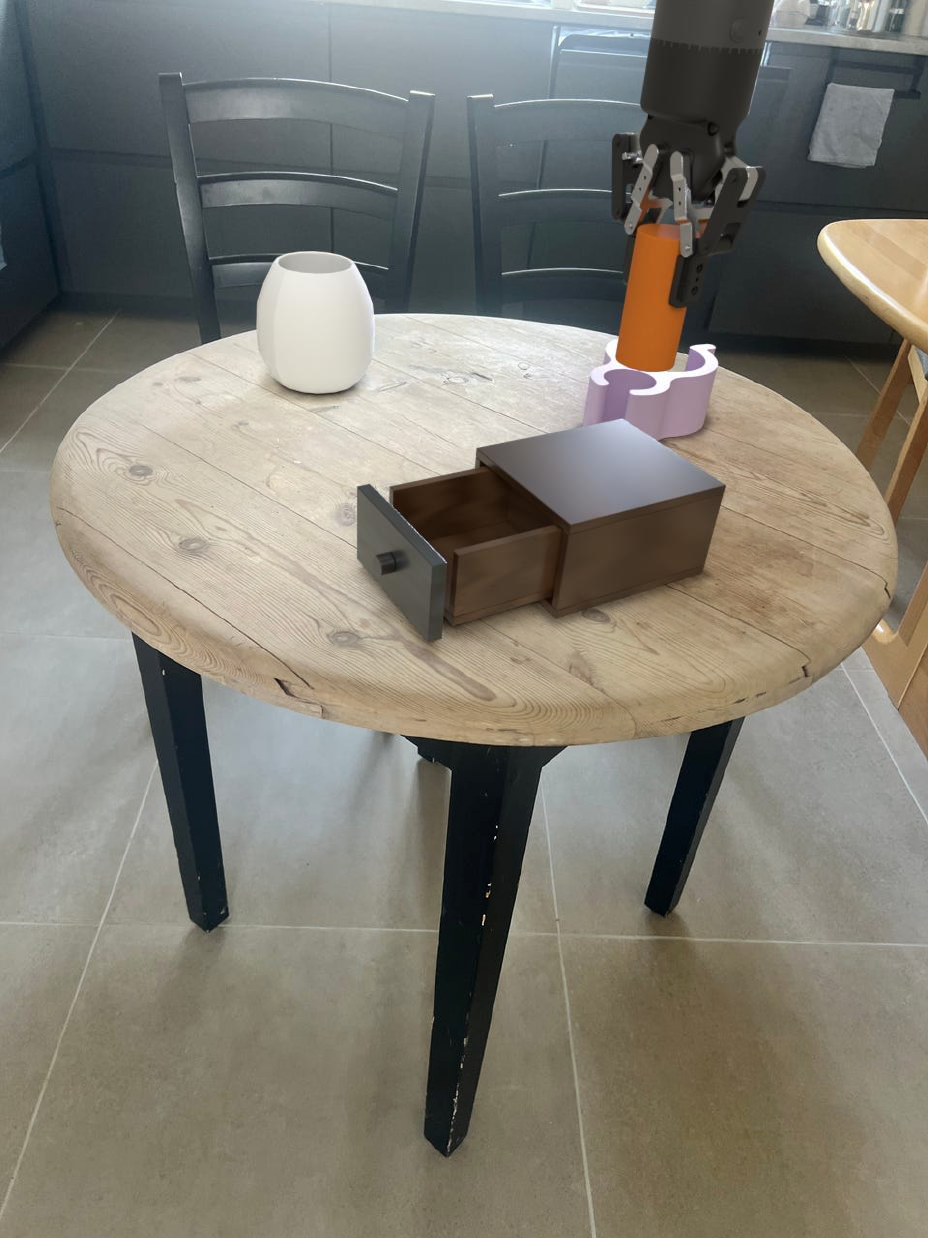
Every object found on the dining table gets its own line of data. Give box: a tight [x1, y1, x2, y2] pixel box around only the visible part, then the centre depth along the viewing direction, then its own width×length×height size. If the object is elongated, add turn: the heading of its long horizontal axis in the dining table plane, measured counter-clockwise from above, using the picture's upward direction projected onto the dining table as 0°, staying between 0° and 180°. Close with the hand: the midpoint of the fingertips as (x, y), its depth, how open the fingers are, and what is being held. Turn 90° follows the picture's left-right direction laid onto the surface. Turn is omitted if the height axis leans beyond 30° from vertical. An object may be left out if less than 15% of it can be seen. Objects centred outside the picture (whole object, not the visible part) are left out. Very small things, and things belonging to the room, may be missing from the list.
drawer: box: [356, 466, 564, 643], centre depth 72 cm, size 16×12×7 cm
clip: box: [581, 338, 719, 442], centre depth 101 cm, size 20×12×7 cm, turn 149°
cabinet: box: [474, 419, 727, 619], centre depth 77 cm, size 16×14×9 cm
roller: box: [615, 223, 700, 372], centre depth 71 cm, size 5×5×10 cm
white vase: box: [256, 250, 376, 395], centre depth 102 cm, size 13×13×14 cm
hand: (657, 293), depth 70 cm, fingers closed on roller, 4 cm apart
